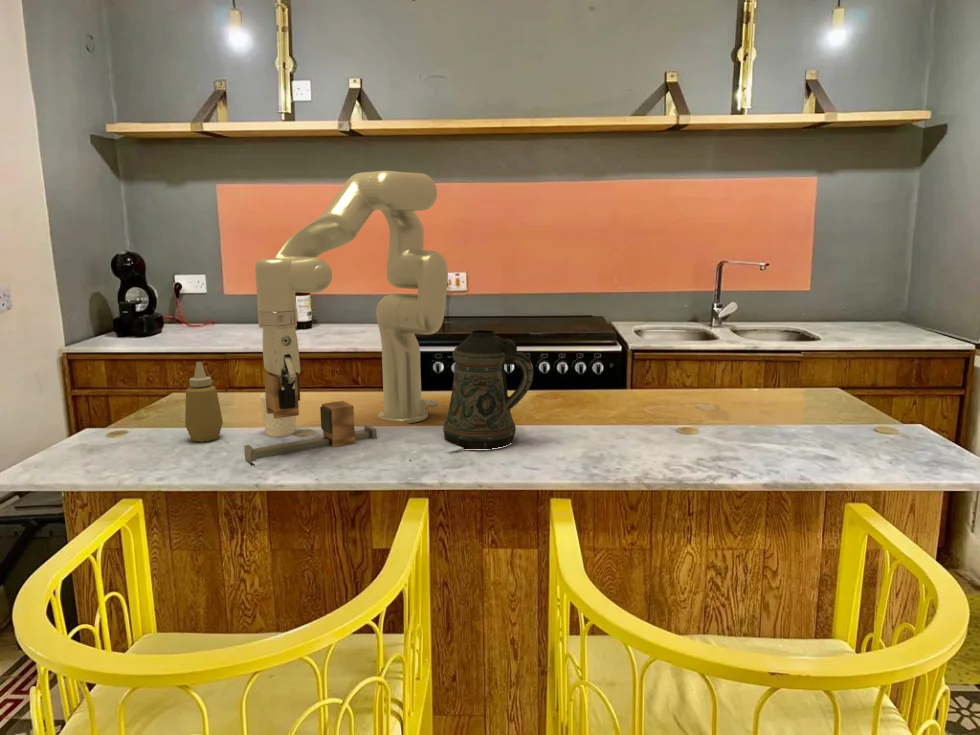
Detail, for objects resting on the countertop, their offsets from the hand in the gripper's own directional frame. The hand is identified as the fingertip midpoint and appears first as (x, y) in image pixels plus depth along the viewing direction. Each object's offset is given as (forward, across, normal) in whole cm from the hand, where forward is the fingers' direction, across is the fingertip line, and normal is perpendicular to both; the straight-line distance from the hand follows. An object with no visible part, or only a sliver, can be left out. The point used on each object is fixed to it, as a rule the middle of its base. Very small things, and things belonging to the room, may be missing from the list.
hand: (282, 404), depth 149 cm
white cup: (+11, +16, -4) cm, 20 cm away
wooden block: (+10, 0, -12) cm, 16 cm away
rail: (+11, 0, -6) cm, 13 cm away
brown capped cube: (+2, 0, 0) cm, 2 cm away
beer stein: (+11, -15, -41) cm, 45 cm away
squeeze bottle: (+12, +24, +11) cm, 29 cm away
